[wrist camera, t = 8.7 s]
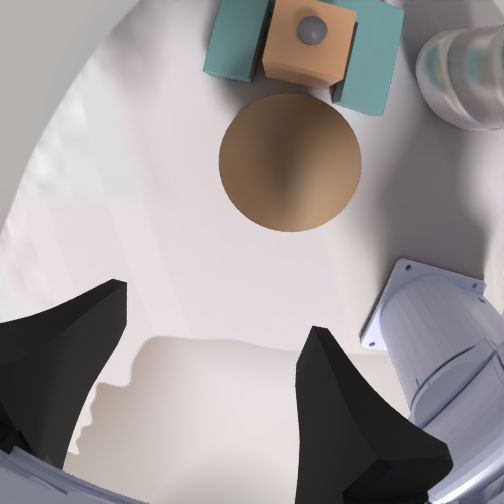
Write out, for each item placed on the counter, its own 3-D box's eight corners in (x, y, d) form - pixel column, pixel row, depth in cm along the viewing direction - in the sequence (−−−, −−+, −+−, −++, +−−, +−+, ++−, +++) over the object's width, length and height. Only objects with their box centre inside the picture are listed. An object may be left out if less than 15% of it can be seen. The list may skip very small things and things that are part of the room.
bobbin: (348, 116, 18) (376, 116, 13) (322, 211, 20) (338, 245, 15) (246, 90, 18) (235, 79, 12) (224, 188, 20) (207, 214, 15)
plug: (333, 40, 16) (361, 6, 10) (322, 90, 17) (346, 77, 11) (277, 26, 16) (278, -15, 10) (265, 76, 17) (261, 56, 11)
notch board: (390, 20, 15) (404, 10, 12) (369, 115, 18) (382, 115, 15) (236, -19, 14) (232, -35, 12) (211, 76, 17) (202, 70, 15)
